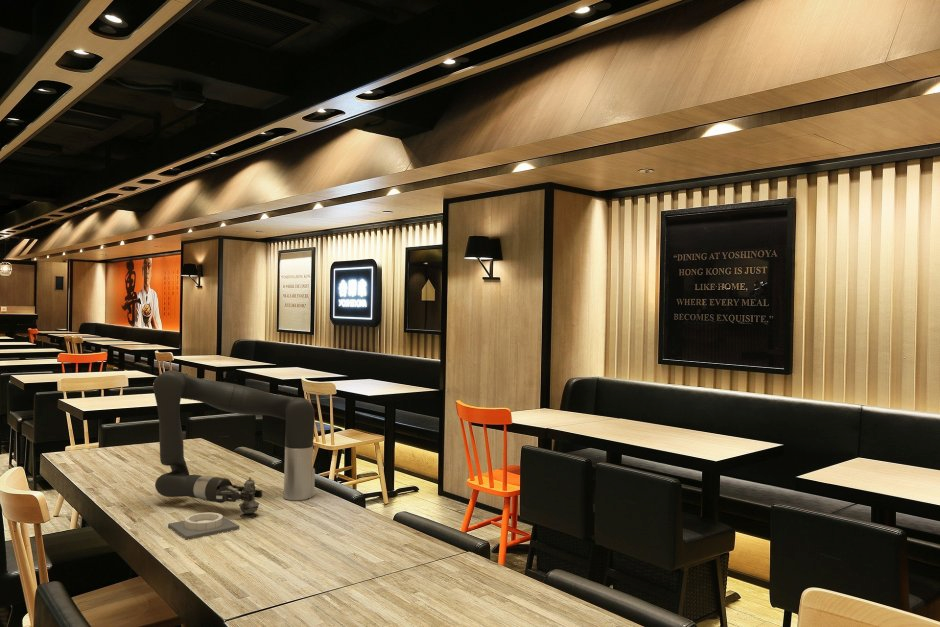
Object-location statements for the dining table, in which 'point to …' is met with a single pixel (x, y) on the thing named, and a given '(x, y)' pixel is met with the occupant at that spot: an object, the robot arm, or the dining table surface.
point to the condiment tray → (203, 532)
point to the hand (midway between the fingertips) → (256, 495)
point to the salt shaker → (249, 506)
